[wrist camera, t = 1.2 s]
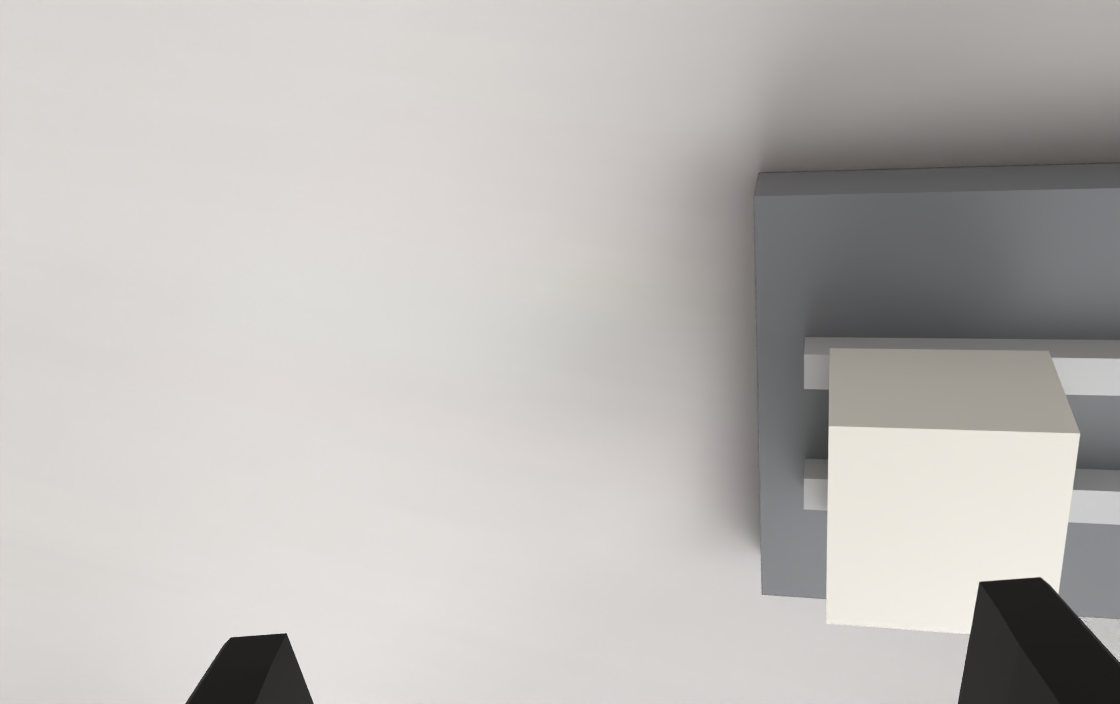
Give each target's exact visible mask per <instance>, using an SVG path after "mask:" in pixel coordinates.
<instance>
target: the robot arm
mask: <svg viewBox="0 0 1120 704" xmlns="http://www.w3.org/2000/svg"><path fill="white" fill-rule="evenodd" d="M186 704H314V703H313V701H312V698H311V696H310V693H309V690H308V688H307V685H306V683H305V680H304V677H303V675H302V672H301V670H300V667H299V664H298V662H297V659H296V657H295V654H294V651H293V649H292V646H291V644H290V641H289V638H288V636H287V633H285V634H271V635H258V636H245V637H231V638H230V639H229V640H228V641H227V642H226V643H225V644H224V645H223V647H222V648H221V650H220V651H219V653H218V654H217V656H216V657H215V659H214V661H213V662H212V664H211V665H210V667H209V668H208V670H207V671H206V673H205V674H204V676H203V677H202V679H201V681H200V682H199V684H198V685H197V687H196V688H195V690H194V691H193V693H192V694H191V696H190V697H189V699H188V701H187V702H186ZM958 704H1120V662H1119V661H1118V660H1117V659H1116V658H1115V657H1114V656H1113V655H1112V654H1111V652H1110V651H1109V650H1108V649H1107V648H1106V647H1105V646H1104V645H1103V644H1102V643H1101V641H1100V640H1099V639H1098V638H1097V637H1096V636H1095V635H1094V634H1093V633H1092V632H1091V630H1090V629H1089V628H1088V627H1087V626H1086V625H1085V624H1084V623H1083V621H1082V620H1081V619H1080V618H1079V617H1078V616H1077V615H1076V614H1075V613H1074V611H1073V610H1072V609H1071V608H1070V607H1069V606H1068V605H1067V604H1066V602H1065V601H1064V600H1063V599H1062V598H1061V597H1060V596H1059V594H1058V593H1057V592H1056V591H1055V590H1054V589H1053V588H1052V587H1051V585H1050V584H1048V583H1047V582H1046V581H1045V580H1044V579H1042V578H1041V577H1034V578H1021V579H1008V580H994V581H981V582H979V586H978V592H977V598H976V603H975V609H974V615H973V621H972V626H971V632H970V638H969V643H968V649H967V655H966V660H965V666H964V672H963V678H962V683H961V689H960V695H959V700H958Z"/></svg>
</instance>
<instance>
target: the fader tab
mask: <svg viewBox="0 0 1120 704" xmlns="http://www.w3.org/2000/svg"><path fill="white" fill-rule="evenodd" d="M1079 439H1080V431H1079V429H1078V426H1077V424H1076V421H1075V418H1074V416H1073V413H1072V411H1071V408H1070V405H1069V403H1068V400H1067V397H1066V395H1065V392H1064V390H1063V387H1062V384H1061V382H1060V379H1059V376H1058V374H1057V371H1056V369H1055V366H1054V363H1053V361H1052V358H1051V355H1050V353H1049V351H1022V350H939V349H856V348H830V363H829V434H828V505H827V580H826V624H837V625H850V626H864V627H877V628H891V629H904V630H918V631H931V632H945V633H958V634H970V632H971V626H972V621H973V615H974V609H975V603H976V598H977V592H978V586H979V582H981V581H994V580H1008V579H1021V578H1034V577H1041V578H1042V579H1044V580H1045V581H1046V582H1047V583H1048V584H1050V585H1051V587H1052V588H1053V589H1054V590H1055V591H1056V592H1057V593H1059V586H1060V578H1061V571H1062V564H1063V556H1064V549H1065V542H1066V534H1067V527H1068V520H1069V512H1070V505H1071V498H1072V490H1073V483H1074V476H1075V468H1076V461H1077V454H1078V446H1079Z"/></svg>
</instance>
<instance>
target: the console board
mask: <svg viewBox="0 0 1120 704" xmlns="http://www.w3.org/2000/svg"><path fill="white" fill-rule="evenodd" d="M754 232H755V282H756V333H757V383H758V433H759V484H760V534H761V584H762V595H774V596H788V597H803V598H818V599H826V580H827V505H828V434H829V363H830V348H856V349H939V350H1022V351H1049V353H1050V355H1051V358H1052V361H1053V363H1054V366H1055V369H1056V371H1057V374H1058V376H1059V379H1060V382H1061V384H1062V387H1063V390H1064V392H1065V395H1066V397H1067V400H1068V403H1069V405H1070V408H1071V411H1072V413H1073V416H1074V418H1075V421H1076V424H1077V426H1078V429H1079V431H1080V439H1079V446H1078V454H1077V461H1076V468H1075V476H1074V483H1073V490H1072V498H1071V505H1070V512H1069V520H1068V527H1067V534H1066V542H1065V549H1064V556H1063V564H1062V571H1061V578H1060V586H1059V593H1058V594H1059V596H1060V597H1061V598H1062V599H1063V600H1064V601H1065V602H1066V604H1067V605H1068V606H1069V607H1070V608H1071V609H1072V610H1073V611H1074V613H1075V614H1076V615H1077V616H1081V617H1096V618H1111V619H1120V163H1103V164H1066V165H1030V166H994V167H958V168H922V169H885V170H849V171H813V172H777V173H758V178H757V183H756V188H755V193H754Z"/></svg>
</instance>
